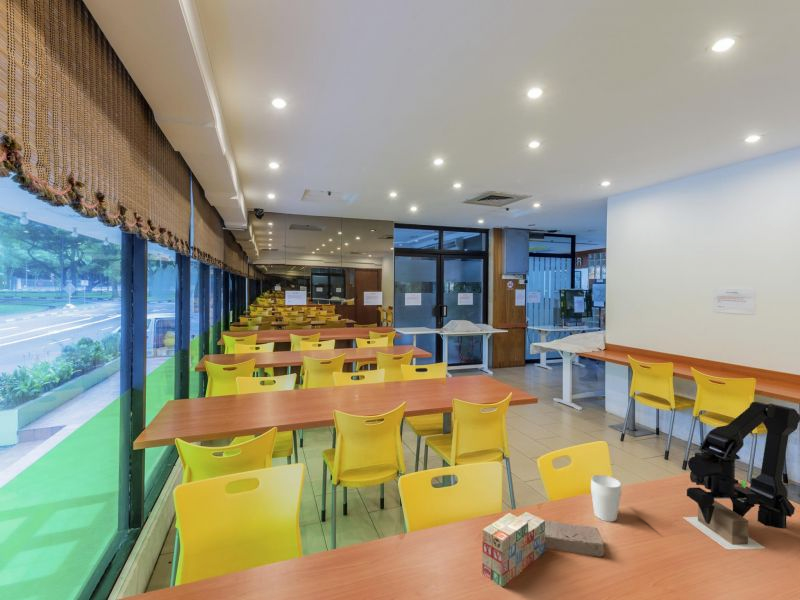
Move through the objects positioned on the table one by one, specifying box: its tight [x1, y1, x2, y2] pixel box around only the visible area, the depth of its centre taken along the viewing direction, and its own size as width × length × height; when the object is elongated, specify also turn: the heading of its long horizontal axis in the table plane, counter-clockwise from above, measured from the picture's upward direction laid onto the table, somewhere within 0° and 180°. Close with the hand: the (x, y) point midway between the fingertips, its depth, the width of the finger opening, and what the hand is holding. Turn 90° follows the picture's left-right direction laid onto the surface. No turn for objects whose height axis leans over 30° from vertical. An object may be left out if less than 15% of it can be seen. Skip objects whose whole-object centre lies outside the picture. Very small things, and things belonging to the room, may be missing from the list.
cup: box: [590, 474, 622, 523], centre depth 129 cm, size 9×9×12 cm
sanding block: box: [697, 499, 749, 545], centre depth 118 cm, size 5×12×7 cm, turn 3°
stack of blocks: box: [481, 511, 546, 588], centre depth 106 cm, size 21×6×12 cm, turn 130°
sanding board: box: [682, 516, 766, 550], centre depth 118 cm, size 12×16×2 cm
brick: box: [544, 519, 605, 557], centre depth 114 cm, size 17×8×5 cm, turn 74°
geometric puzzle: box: [735, 478, 750, 491], centre depth 142 cm, size 7×7×8 cm
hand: (721, 522), depth 118 cm, fingers open, 9 cm apart
